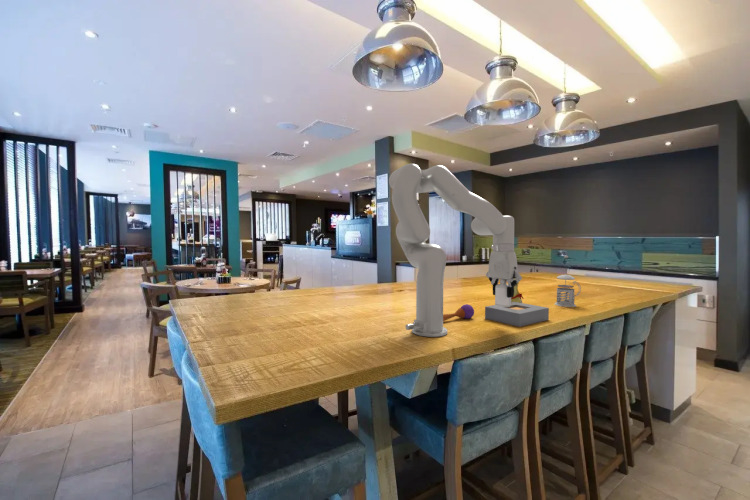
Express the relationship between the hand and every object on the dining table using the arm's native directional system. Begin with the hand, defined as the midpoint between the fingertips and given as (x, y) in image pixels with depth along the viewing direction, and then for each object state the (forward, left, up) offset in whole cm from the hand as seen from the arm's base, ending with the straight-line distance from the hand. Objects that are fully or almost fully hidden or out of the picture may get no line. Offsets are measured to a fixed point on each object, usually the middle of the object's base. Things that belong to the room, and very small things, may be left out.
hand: (503, 295), depth 130 cm
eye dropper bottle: (0, 0, -4) cm, 4 cm away
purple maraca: (-8, +17, -12) cm, 23 cm away
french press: (+63, +8, -12) cm, 64 cm away
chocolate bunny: (+33, +17, -12) cm, 39 cm away
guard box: (+15, +4, -12) cm, 19 cm away
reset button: (+15, +4, -11) cm, 19 cm away
